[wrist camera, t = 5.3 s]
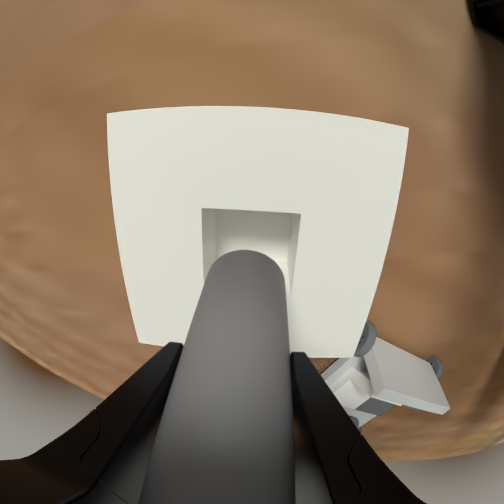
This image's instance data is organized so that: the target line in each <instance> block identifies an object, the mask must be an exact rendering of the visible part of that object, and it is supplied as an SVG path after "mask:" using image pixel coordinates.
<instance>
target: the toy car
mask: <svg viewBox="0 0 504 504" xmlns="http://www.w3.org/2000/svg"><path fill="white" fill-rule="evenodd" d="M442 373H443V363H442V361H441V360H440V359H439V358H437V357H435V356H431V357H430V358H429V359H428V360H427V361H424V360H422V359H420V358H418V357H416V356H414V355H412V354H410V353H408V352H406V351H404V350H402V349H400V348H398V347H396V346H394V345H392V344H390V343H388V342H386V341H384V340H382V339H380V338H378V337H377V330H376V327H375V325H374V324H372V323H371V322H369V321H367V320H366V323H365V326H364V329H363V331H362V334H361V337H360V340H359V343H358V345H357V348H356V351H355V353H354V356H353V358H339V359H338V360H337V361H335V362H334V363H333V364H332V365H331V366H330V367H329V368H328V369H327V370H325V371H324V372H323V373H322V374H321V376H322V378H323V379H324V381H325V382H326V383H327V385H328V386H329V388H330V389H331V391H332V392H333V394H334V395H335V396H336V398H337V399H338V401H339V402H340V404H341V405H342V407H343V408H344V409H345V411H346V412H347V414H348V415H349V417H350V418H351V419H352V421H353V422H354V424H355V425H356V427H357V428H358V429H359V431H360V432H361V426H362V425H363V424H365V423H366V422H368V421H369V420H371V419H372V418H374V417H375V416H376V415H378V416H381V415H382V414H384V413H385V412H386V411H388V410H389V409H391V408H392V407H393V406H395V405H399V406H403V407H406V408H410V409H414V410H418V411H422V412H425V411H429V412H433V413H437V414H441V415H443V414H444V413H445V412H447V411H448V410H449V409H450V406H449V404H448V401H447V399H446V397H445V394H444V392H443V390H442V388H441V385H440V383H439V381H438V380H439V379H440V377H441V375H442Z"/></svg>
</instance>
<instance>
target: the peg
mask: <svg viewBox="0 0 504 504" xmlns="http://www.w3.org/2000/svg"><path fill="white" fill-rule="evenodd" d="M138 504H296V498H295V452H294V423H293V400H292V381H291V363H290V345H289V330H288V315H287V301H286V288H285V278H284V275H283V272H282V270H281V269H280V267H279V266H278V264H277V263H276V262H275V261H274V260H273V259H271V258H270V257H268V256H267V255H265V254H263V253H260V252H257V251H253V250H236V251H231V252H229V253H226V254H224V255H222V256H221V257H219V258H218V259H217V260H216V261H215V262H214V263H213V264H212V266H211V267H210V269H209V272H208V275H207V277H206V280H205V283H204V286H203V289H202V292H201V295H200V298H199V301H198V304H197V307H196V310H195V313H194V316H193V319H192V322H191V325H190V328H189V331H188V334H187V337H186V340H185V343H184V346H183V350H182V353H181V356H180V359H179V362H178V365H177V369H176V372H175V375H174V378H173V382H172V385H171V388H170V391H169V395H168V398H167V401H166V405H165V408H164V411H163V415H162V418H161V422H160V425H159V429H158V432H157V435H156V439H155V443H154V446H153V450H152V453H151V457H150V461H149V464H148V468H147V472H146V475H145V479H144V483H143V487H142V491H141V494H140V498H139V502H138Z"/></svg>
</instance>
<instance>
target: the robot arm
mask: <svg viewBox="0 0 504 504" xmlns="http://www.w3.org/2000/svg"><path fill="white" fill-rule="evenodd" d="M470 6H471V14H472V21H473V23H474V25H475V26H476V27H478V28H479V29H481V30H483V31H485V32H487V33H488V34H490V35H492V36H493V37H495V38H497V39H498V40H500V41H501V42H503V43H504V0H470ZM478 21H479V22H478ZM183 346H184V345H183V344H182V343H180V342H169V343H167V344H166V345H165V346H164V347H163V348H162V349H161V350H160V351H159V352H157V353H156V354H155V355H154V356H153V357H152V358H151V359H150V360H149V361H147V362H146V363H145V364H144V365H143V366H142V367H141V368H140V369H139V370H137V371H136V372H135V373H134V374H133V375H132V376H131V377H130V378H129V379H127V380H126V381H125V382H124V383H123V384H122V385H121V386H120V387H118V388H117V389H116V390H115V391H114V392H113V393H112V394H111V395H110V396H108V397H107V398H106V399H105V400H104V401H103V402H102V403H101V404H99V405H98V406H97V407H96V409H94V410H93V411H91V412H90V413H89V414H88V415H87V416H86V417H85V418H83V419H82V420H81V421H80V422H78V423H77V424H76V425H75V426H73V427H72V428H71V429H69V430H68V431H67V432H65V433H64V434H63V435H61V436H60V437H58V438H56V439H55V440H53V441H52V442H50V443H49V444H47V445H46V446H44V447H43V448H41V449H40V450H38V451H37V452H35V453H34V454H32V455H30V456H28V457H24V458H21V459H14V460H0V504H138V502H139V498H140V494H141V491H142V487H143V483H144V479H145V475H146V472H147V468H148V464H149V461H150V457H151V453H152V450H153V446H154V443H155V439H156V435H157V432H158V429H159V425H160V422H161V418H162V415H163V411H164V408H165V405H166V401H167V398H168V395H169V391H170V388H171V385H172V382H173V378H174V375H175V372H176V369H177V365H178V362H179V359H180V356H181V353H182V350H183ZM290 363H291V381H292V400H293V423H294V452H295V498H296V504H426V503H424V502H423V501H422V500H420V499H419V498H417V497H416V496H415V495H414V494H413V493H412V492H411V491H410V490H409V489H408V488H407V487H406V486H405V485H404V484H403V483H402V482H401V481H400V480H399V478H398V477H397V476H396V475H395V474H394V473H393V472H391V470H390V469H389V468H388V467H387V466H386V465H385V463H384V462H383V461H382V460H381V459H380V458H379V457H378V455H377V454H376V453H375V451H374V450H373V449H372V448H371V446H370V445H369V444H368V442H367V441H366V439H365V438H364V436H363V435H360V434H361V432H360V431H359V429H358V428H357V427H356V425H355V424H354V422H353V421H352V419H351V418H350V417H349V415H348V414H347V412H346V411H345V409H344V408H343V407H342V405H341V404H340V402H339V401H338V399H337V398H336V396H335V395H334V394H333V392H332V391H331V389H330V388H329V386H328V385H327V383H326V382H325V381H324V379H323V378H322V376H321V375H320V373H319V372H318V370H317V369H316V368H315V366H314V365H313V363H312V362H311V360H310V359H309V357H308V356H307V354H306V353H305V352H296V351H293V352H291V354H290Z"/></svg>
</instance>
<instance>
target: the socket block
mask: <svg viewBox="0 0 504 504" xmlns="http://www.w3.org/2000/svg"><path fill="white" fill-rule="evenodd" d="M408 132H409V128H406V127H402V126H397V125H393V124H388V123H383V122H378V121H373V120H368V119H362V118H356V117H350V116H344V115H337V114H329V113H322V112H313V111H304V110H294V109H281V108H266V107H244V106H191V107H169V108H154V109H142V110H132V111H123V112H115V113H107V135H108V157H109V171H110V183H111V194H112V203H113V212H114V219H115V227H116V234H117V241H118V247H119V253H120V259H121V264H122V270H123V275H124V280H125V285H126V290H127V295H128V299H129V304H130V308H131V313H132V317H133V321H134V325H135V329H136V333H137V337H138V340H139V342H140V343H146V344H152V345H159V346H165V345H166V344H167V343H169V342H180V343H182V344H183V345H184V343H185V340H186V337H187V334H188V331H189V328H190V325H191V322H192V319H193V316H194V313H195V310H196V307H197V304H198V301H199V298H200V295H201V292H202V289H203V286H204V283H205V280H206V277H207V275H208V272H209V269H210V267H211V266H212V264H213V263H214V262H215V261H216V260H217V259H218V258H219V257H221V256H222V255H224V254H226V253H229V252H231V251H236V250H253V251H257V252H260V253H263V254H265V255H267V256H268V257H270V258H271V259H273V260H274V261H275V262H276V263H277V264H278V266H279V267H280V269H281V270H282V272H283V275H284V278H285V288H286V301H287V315H288V330H289V345H290V354H291V352H293V351H296V352H305V353H306V354H307V356H308V357H309V358H353V356H354V353H355V351H356V348H357V345H358V343H359V340H360V337H361V334H362V331H363V329H364V326H365V323H366V320H367V317H368V314H369V311H370V308H371V304H372V301H373V298H374V295H375V291H376V288H377V285H378V281H379V278H380V274H381V271H382V267H383V263H384V259H385V256H386V252H387V248H388V244H389V240H390V235H391V231H392V227H393V222H394V217H395V213H396V208H397V203H398V198H399V192H400V187H401V181H402V175H403V169H404V162H405V155H406V148H407V140H408Z"/></svg>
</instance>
